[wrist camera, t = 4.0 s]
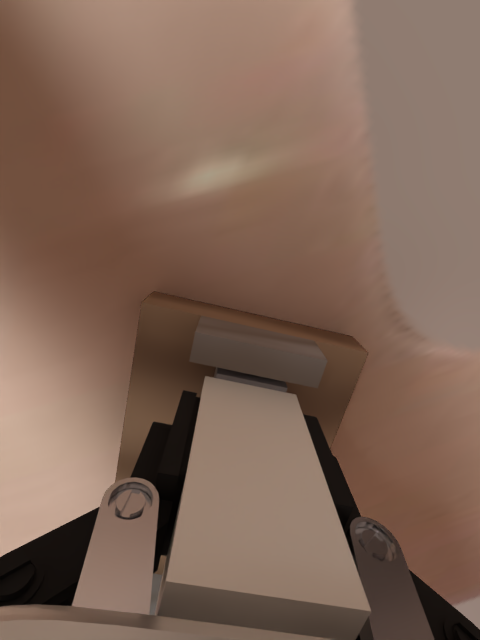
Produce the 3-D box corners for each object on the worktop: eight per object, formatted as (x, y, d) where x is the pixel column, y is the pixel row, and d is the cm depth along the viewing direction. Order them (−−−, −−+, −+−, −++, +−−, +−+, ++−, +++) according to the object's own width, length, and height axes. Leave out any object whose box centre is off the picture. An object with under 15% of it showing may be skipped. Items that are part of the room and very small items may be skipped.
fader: (209, 353, 13) (167, 572, 5) (290, 371, 13) (375, 603, 5) (192, 430, 14) (135, 708, 6) (266, 444, 15) (306, 728, 6)
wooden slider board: (153, 291, 15) (125, 316, 11) (352, 336, 16) (390, 374, 12) (113, 545, 20) (84, 623, 16) (264, 568, 21) (271, 648, 17)
